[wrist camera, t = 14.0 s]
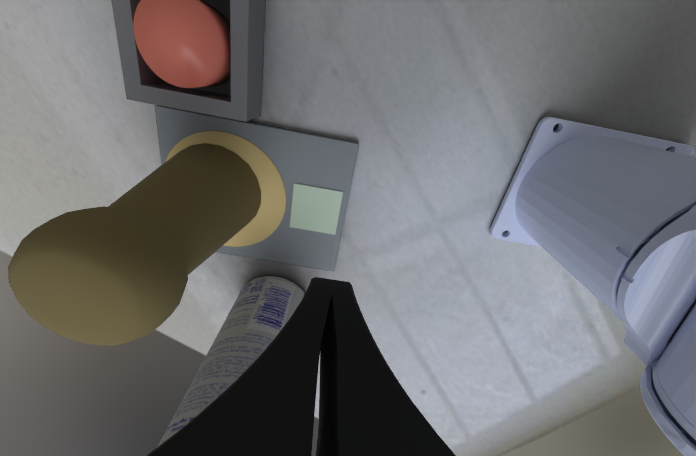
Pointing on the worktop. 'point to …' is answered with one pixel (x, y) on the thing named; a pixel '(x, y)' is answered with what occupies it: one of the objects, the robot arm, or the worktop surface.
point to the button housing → (223, 100)
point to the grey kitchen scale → (276, 184)
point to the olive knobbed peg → (134, 248)
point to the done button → (184, 42)
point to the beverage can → (239, 343)
